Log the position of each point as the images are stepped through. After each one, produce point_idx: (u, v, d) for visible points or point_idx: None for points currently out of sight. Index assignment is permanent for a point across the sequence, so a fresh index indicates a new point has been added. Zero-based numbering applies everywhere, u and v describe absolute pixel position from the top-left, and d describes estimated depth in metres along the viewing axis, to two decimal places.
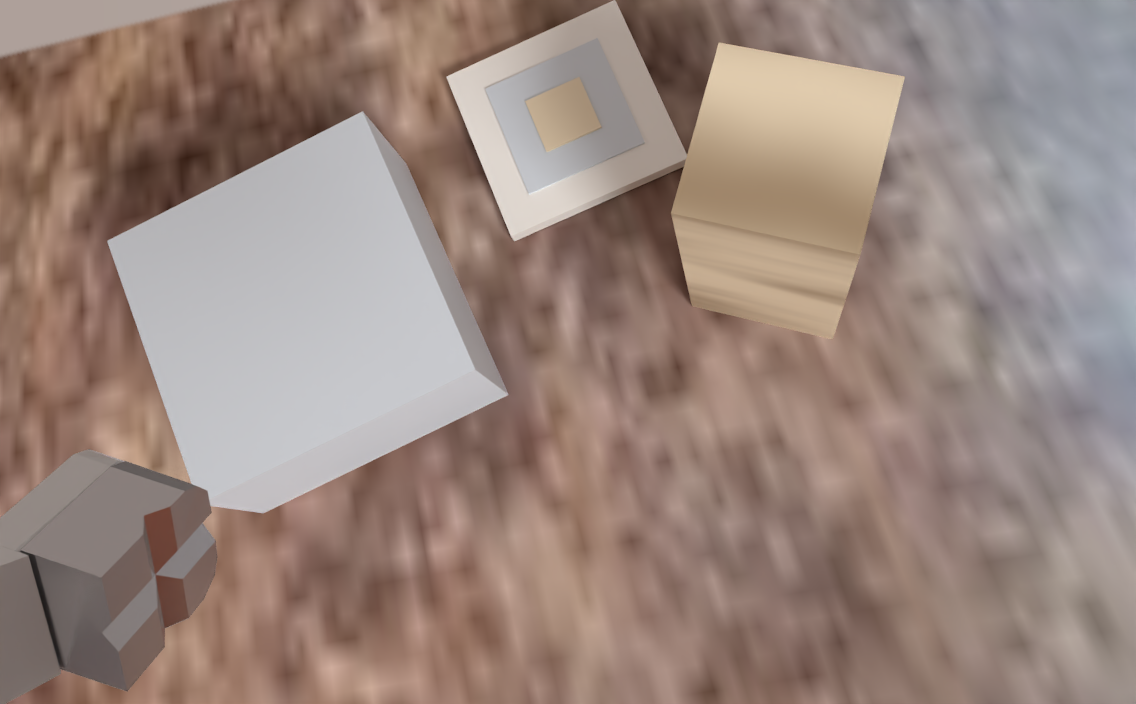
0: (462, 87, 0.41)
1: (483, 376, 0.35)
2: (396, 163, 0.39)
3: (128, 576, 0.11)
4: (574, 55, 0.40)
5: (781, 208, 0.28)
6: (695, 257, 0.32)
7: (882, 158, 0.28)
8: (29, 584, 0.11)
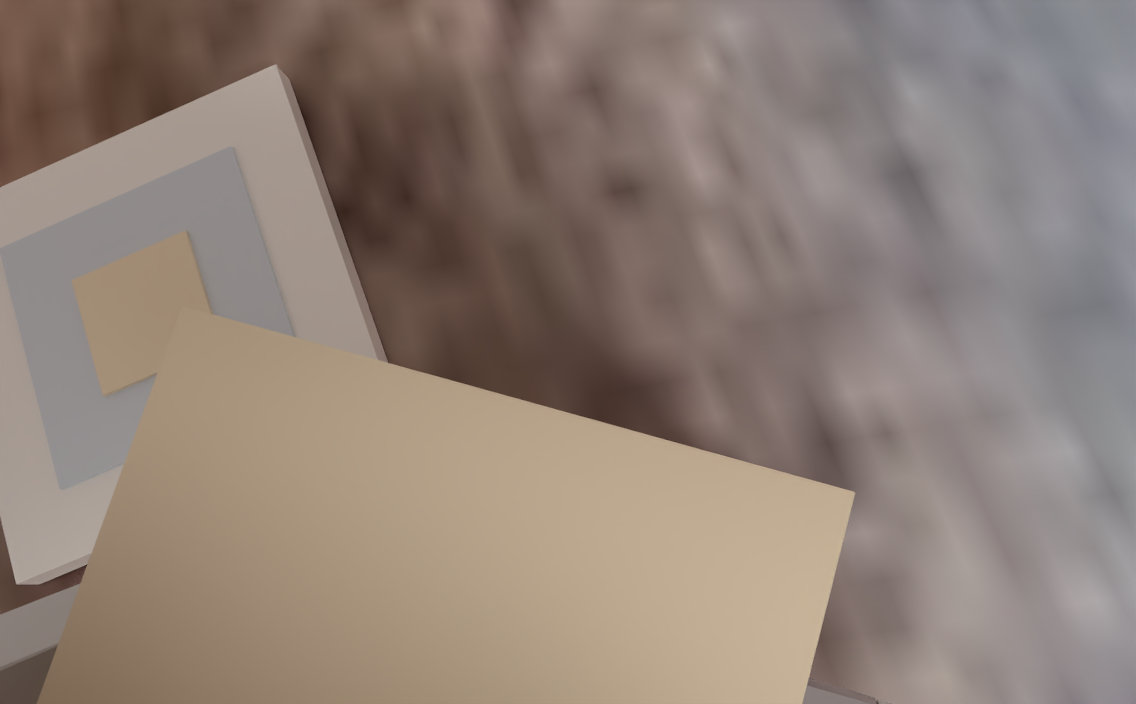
0: None
1: None
2: None
3: None
4: (184, 181, 0.19)
5: None
6: None
7: None
8: None
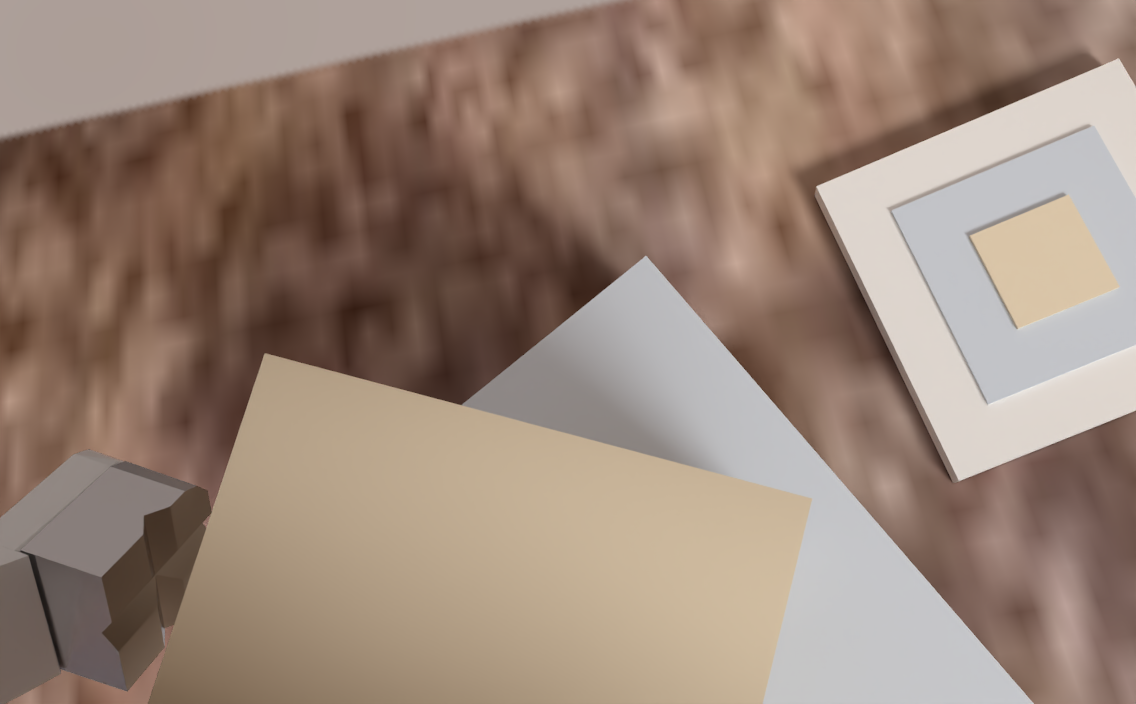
0: (847, 206, 0.24)
1: None
2: None
3: (128, 576, 0.11)
4: (1052, 154, 0.23)
5: None
6: None
7: None
8: (29, 584, 0.11)
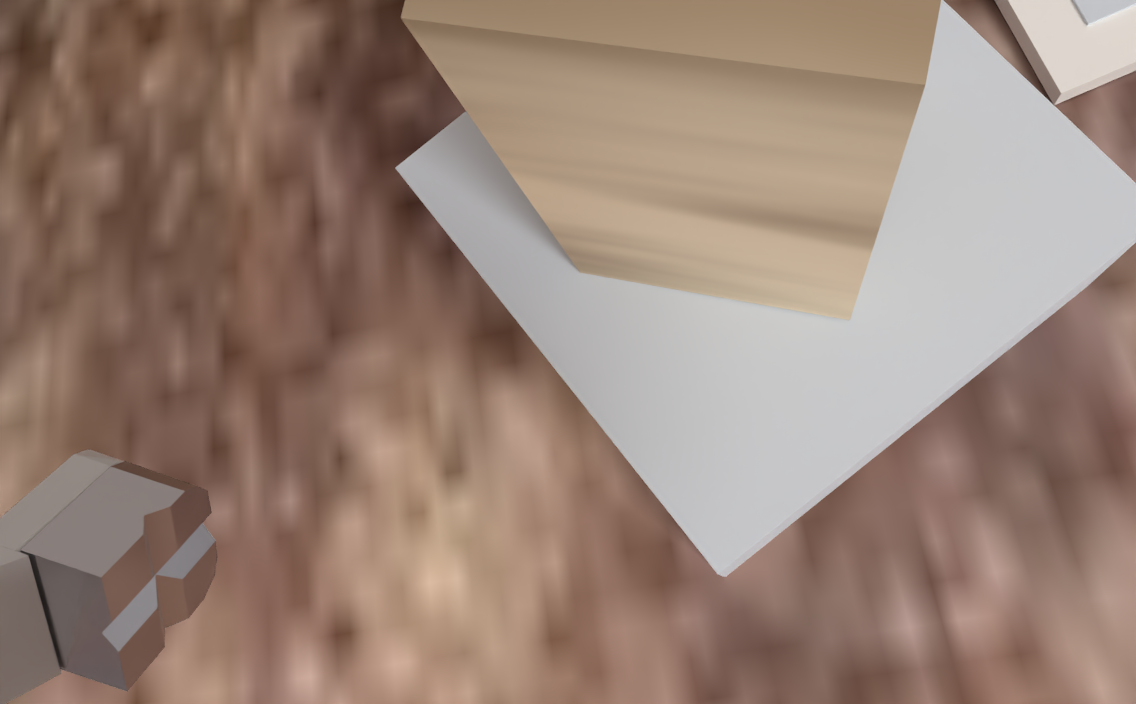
0: None
1: None
2: None
3: (128, 576, 0.11)
4: None
5: None
6: (530, 157, 0.14)
7: None
8: (29, 584, 0.11)
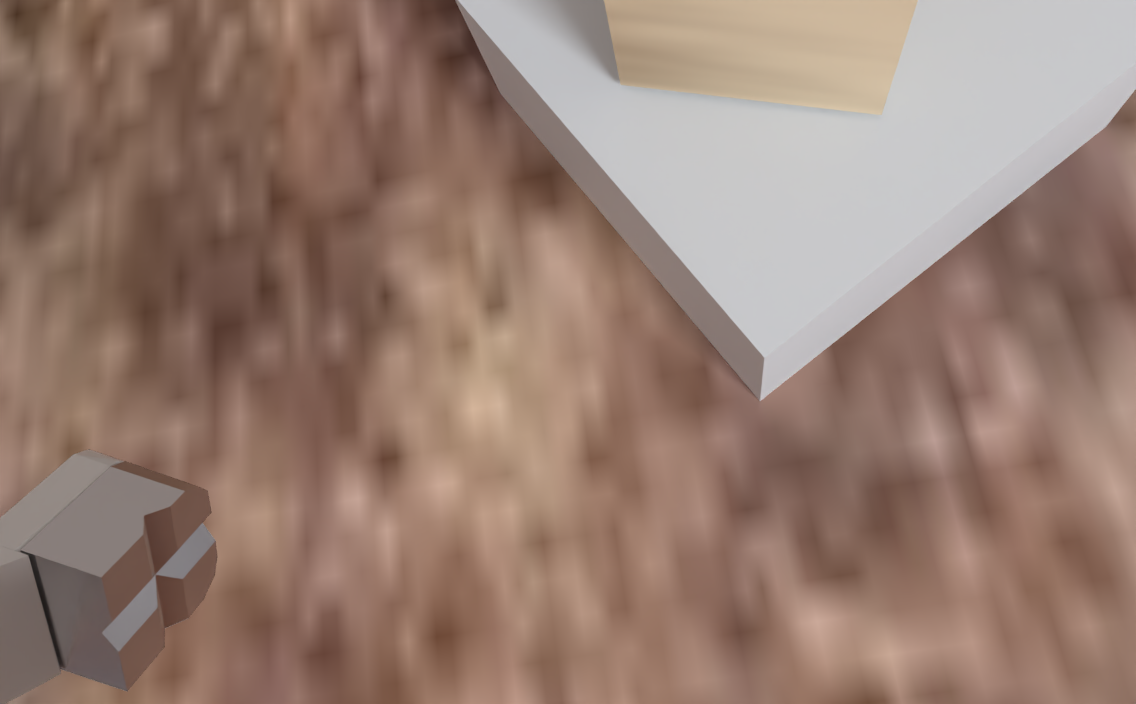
0: None
1: None
2: None
3: (128, 576, 0.11)
4: None
5: None
6: None
7: None
8: (29, 584, 0.11)
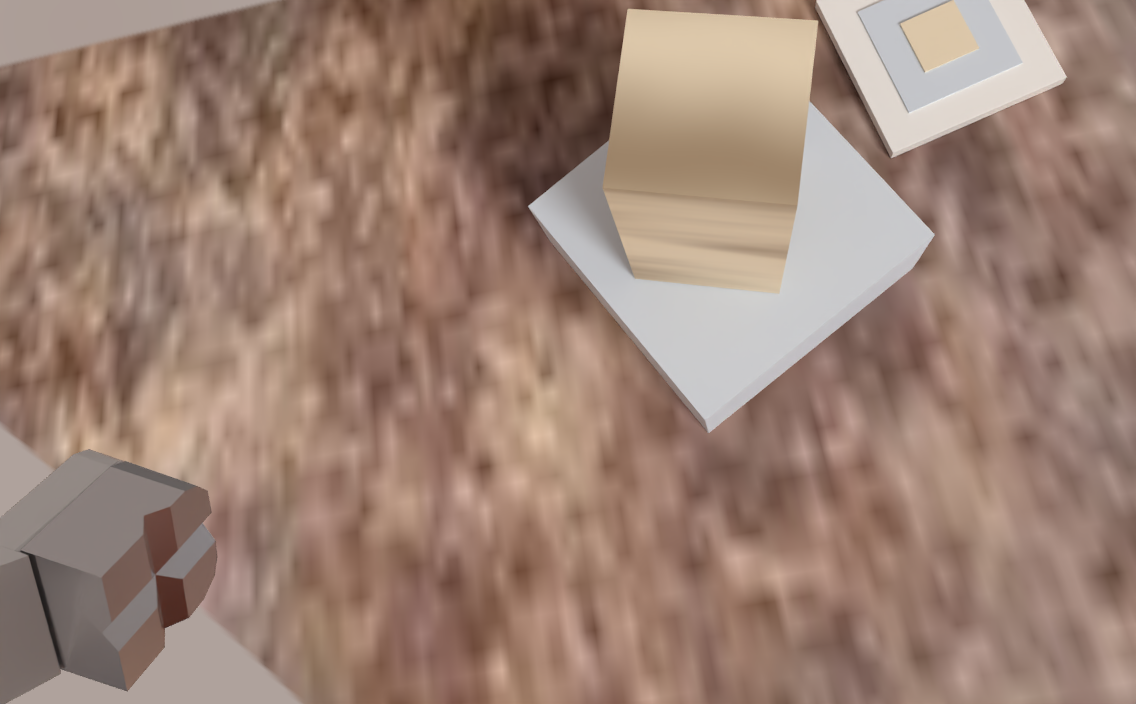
0: (833, 10, 0.43)
1: (928, 243, 0.38)
2: None
3: (128, 576, 0.11)
4: None
5: (713, 169, 0.28)
6: (633, 229, 0.31)
7: (806, 105, 0.28)
8: (29, 584, 0.11)
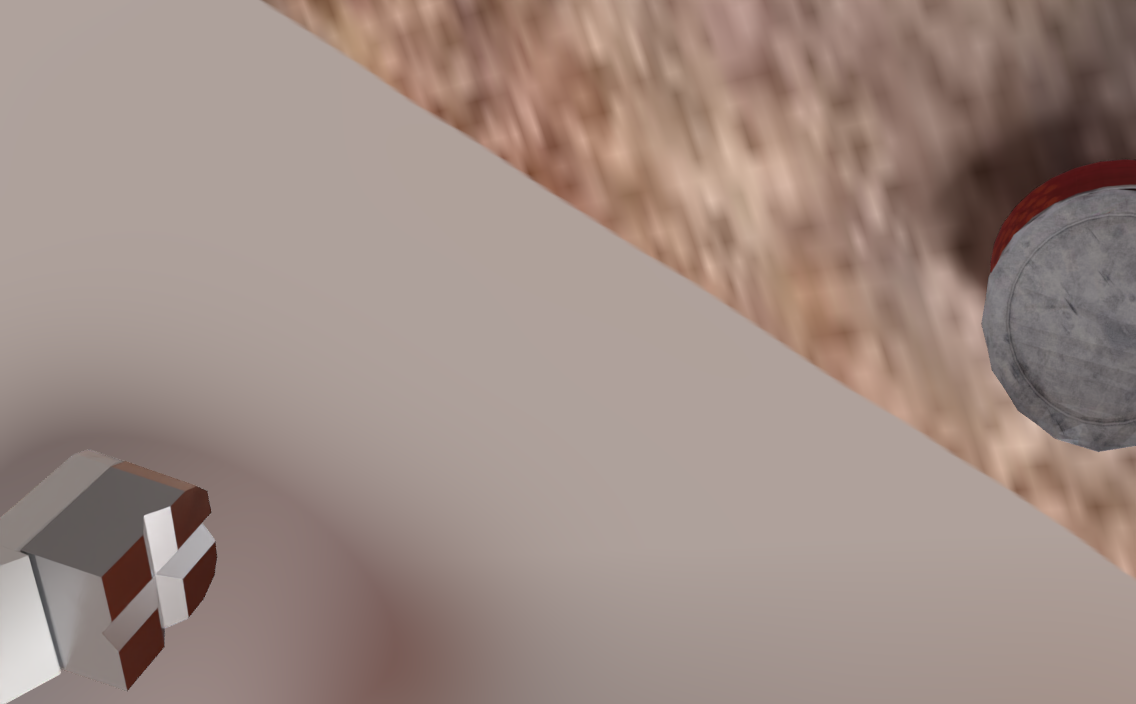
0: None
1: None
2: None
3: (128, 576, 0.11)
4: None
5: None
6: None
7: None
8: (29, 584, 0.11)
